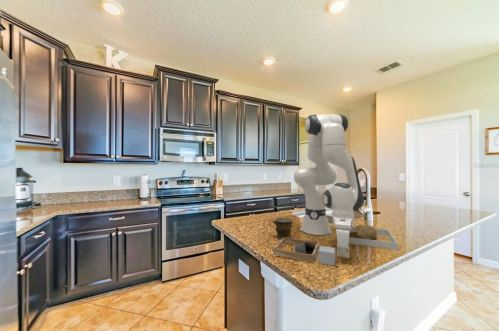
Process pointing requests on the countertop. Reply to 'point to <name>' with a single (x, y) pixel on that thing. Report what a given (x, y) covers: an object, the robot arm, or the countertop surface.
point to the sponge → (363, 232)
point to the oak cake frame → (295, 254)
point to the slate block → (327, 255)
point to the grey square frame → (374, 243)
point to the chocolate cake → (304, 248)
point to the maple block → (346, 251)
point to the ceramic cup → (283, 227)
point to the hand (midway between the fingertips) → (343, 251)
